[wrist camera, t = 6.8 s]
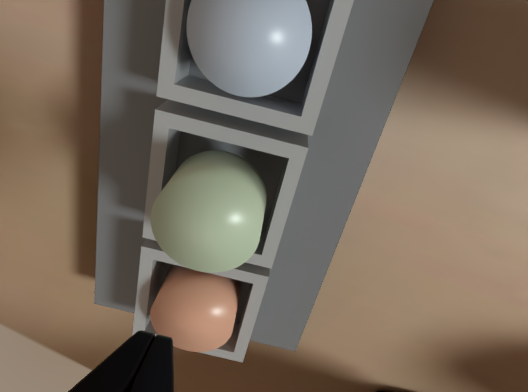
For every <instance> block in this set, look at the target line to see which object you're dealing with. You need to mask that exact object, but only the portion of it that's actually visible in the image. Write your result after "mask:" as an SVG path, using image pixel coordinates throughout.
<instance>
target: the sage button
mask: <svg viewBox="0 0 528 392" xmlns="http://www.w3.org/2000/svg"><path fill="white" fill-rule="evenodd" d="M266 201H267V194H266V188H265V184H264V182H263V179H262V177H261V176H260V174H259V172H258V171H257V170H256V169H255V168H254V167H253V166H252V165H251V164H250V163H249V162H248V161H247V160H245V159H243V158H242V157H240V156H238V155H236V154H233V153H230V152H226V151H220V150H210V151H204V152H200V153H197V154H195V155H193V156H191V157H189V158H188V159H187V160H185V161H184V162H183V163H182V164H181V165H180V167H179V168H178V169H177V171H176V172H175V173H174V175H173V176H172V178H171V179H170V180H169V182H168V183H167V184H166V186H165V187H164V189H163V190H162V191H161V193H160V194H159V195H158V197H157V198H156V200H155V202H154V204H153V207H152V211H151V228H152V232H153V235H154V237H155V239H156V241H157V243H158V244H159V246H160V247H161V249H162V250H163V251H164V252H165V253H166V254H167V255H168V256H169V257H170V258H172V259H173V260H174V261H176V262H177V263H179V264H181V265H183V266H185V267H187V268H189V269H192V270H196V271H200V272H208V273H218V272H225V271H229V270H232V269H234V268H237V267H239V266H240V265H242V264H243V263H245V262H246V261H247V260H248V259H249V258H250V257H251V256H252V255H253V254H254V252H255V250H256V249H257V247H258V244H259V241H260V236H261V230H262V224H263V219H264V213H265V207H266Z"/></svg>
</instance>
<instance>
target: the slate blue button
mask: <svg viewBox="0 0 528 392" xmlns="http://www.w3.org/2000/svg"><path fill="white" fill-rule="evenodd" d="M186 27H187V39H188V44H189V48H190V51H191V54H192V56H193V59H194V61H195V63H196V64H197V66H198V68H199V69H200V71H201V72H202V73H203V75H204V76H205V77H206V78H207V79H208V80H209V81H210V82H212V83H213V84H214V85H215V86H217V87H218V88H220V89H221V90H223V91H225V92H228V93H230V94H233V95H236V96H241V97H260V96H265V95H268V94H271V93H274V92H276V91H278V90H280V89H281V88H283V87H284V86H286V85H287V84H288V83H289V82H290V81H292V80H293V79H294V77H295V76H296V75H297V74H298V73H299V71H300V70H301V68H302V66H303V65H304V63H305V61H306V58H307V56H308V53H309V50H310V45H311V39H312V22H311V16H310V11H309V8H308V5H307V2H306V0H191V3H190V7H189V10H188V15H187V26H186Z"/></svg>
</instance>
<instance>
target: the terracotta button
mask: <svg viewBox="0 0 528 392" xmlns="http://www.w3.org/2000/svg"><path fill="white" fill-rule="evenodd" d="M240 293H241V285H240V281H239V280H235V279H231V278H227V277H223V276H219V275H215V274H211V273H206V272H200V271H196V270H192V269H189V268H186V267H182V266H177V265H173V266H172V267H171V269H170V270H169V272H168V274H167V276H166V278H165V280H164V282H163V285H162V287H161V289H160V291H159V293H158V295H157V297H156V299H155V301H154V303H153V305H152V307H151V311H150V320H151V323H152V326H153V328H154V330H155V331H156V333H157V334H160V335H164V336H168V337H171V338H172V339H173V346H175V347H177V348H179V349H182V350H186V351H191V352H206V351H211V350H214V349H217V348H219V347H221V346H222V345H224V344H225V343H226V342H227V341H228V340H229V338H230V337H231V335H232V332H233V327H234V322H235V317H236V312H237V308H238V303H239V298H240Z"/></svg>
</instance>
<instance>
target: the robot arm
mask: <svg viewBox="0 0 528 392" xmlns="http://www.w3.org/2000/svg"><path fill="white" fill-rule="evenodd" d="M68 392H174V368H173V339H172V338H171V337H168V336H164V335H160V334H158V335H156V336H155V334H154V333H151V332H147V331H143V330H140V331H137V332H136V333H135V334H134V335H132V336H131V337H130V338H129V339H128V340H127V341H126V342H124V343H123V344H122V345H121V346H120V347H119V348H118V349H116V350H115V351H114V352H113V353H112V354H111V355H110V356H108V357H107V358H106V359H105V360H104V361H103V362H102V363H100V364H99V365H98V366H97V367H96V368H95V369H93V370H92V371H91V372H90V373H89V374H88V375H87V376H85V377H84V378H83V379H82V380H81V381H80V382H79V383H77V384H76V385H75V386H74V387H73V388H72V389H71V390H69V391H68ZM379 392H385V391H379Z"/></svg>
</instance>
